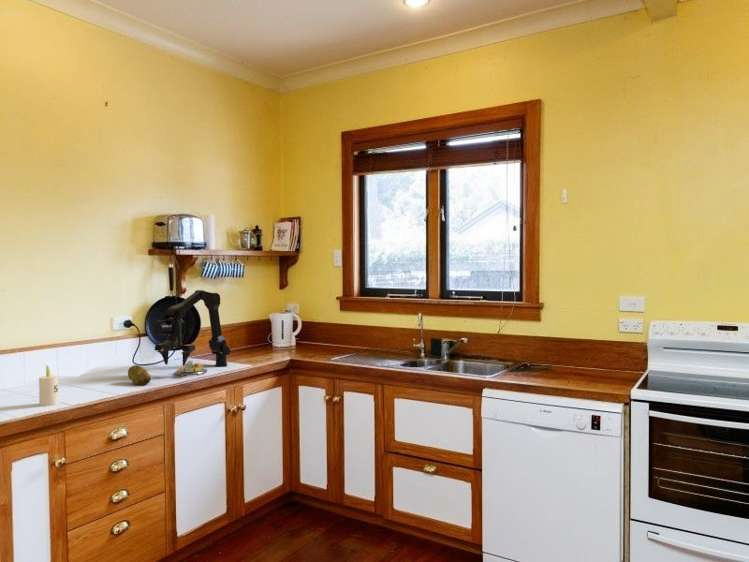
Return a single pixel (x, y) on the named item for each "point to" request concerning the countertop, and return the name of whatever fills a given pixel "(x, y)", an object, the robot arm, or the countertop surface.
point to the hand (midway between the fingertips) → (175, 365)
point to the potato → (139, 375)
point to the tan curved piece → (191, 367)
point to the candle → (48, 389)
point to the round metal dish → (190, 372)
